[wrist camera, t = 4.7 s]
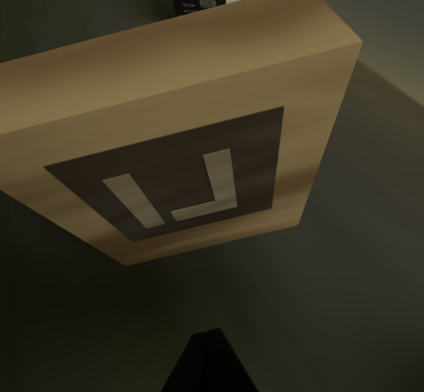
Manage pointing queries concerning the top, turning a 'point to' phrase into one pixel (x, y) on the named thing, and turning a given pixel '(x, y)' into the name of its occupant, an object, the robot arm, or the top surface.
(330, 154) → the top surface
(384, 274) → the top surface
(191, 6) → the medicine bottle
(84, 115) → the letter block
